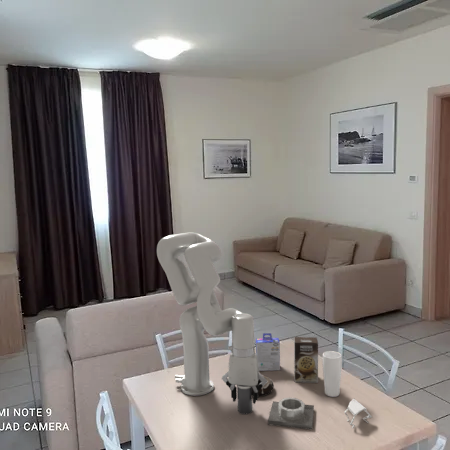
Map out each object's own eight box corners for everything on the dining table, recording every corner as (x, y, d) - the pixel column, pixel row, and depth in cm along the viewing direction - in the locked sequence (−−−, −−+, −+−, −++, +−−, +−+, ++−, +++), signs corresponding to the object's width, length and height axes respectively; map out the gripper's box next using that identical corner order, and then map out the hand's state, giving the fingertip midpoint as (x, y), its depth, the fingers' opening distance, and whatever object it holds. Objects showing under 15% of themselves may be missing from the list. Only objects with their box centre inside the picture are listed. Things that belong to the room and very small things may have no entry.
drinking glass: (342, 399, 154) (342, 358, 152) (322, 397, 155) (322, 357, 153) (341, 390, 160) (341, 351, 158) (322, 388, 161) (322, 350, 160)
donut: (239, 396, 158) (239, 386, 158) (246, 381, 169) (246, 371, 169) (270, 399, 155) (270, 389, 155) (276, 384, 166) (275, 374, 166)
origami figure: (375, 429, 135) (375, 414, 135) (348, 430, 135) (348, 415, 135) (363, 408, 147) (363, 395, 147) (338, 409, 147) (338, 395, 147)
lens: (236, 413, 146) (235, 385, 145) (239, 405, 151) (238, 378, 150) (250, 415, 145) (250, 386, 144) (253, 407, 150) (253, 379, 149)
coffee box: (294, 382, 167) (294, 342, 165) (294, 375, 173) (293, 336, 171) (318, 383, 166) (318, 342, 164) (317, 375, 172) (316, 336, 170)
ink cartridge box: (279, 364, 183) (278, 332, 181) (280, 370, 177) (280, 336, 176) (256, 365, 183) (255, 332, 181) (256, 371, 178) (256, 337, 176)
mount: (268, 424, 139) (267, 411, 139) (273, 405, 151) (272, 393, 150) (312, 429, 136) (312, 416, 135) (313, 409, 147) (313, 397, 147)
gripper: (215, 353, 144) (217, 403, 146) (267, 356, 140) (268, 409, 142) (221, 344, 152) (223, 393, 154) (270, 347, 147) (271, 397, 149)
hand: (244, 400), depth 148 cm, fingers open, 6 cm apart
